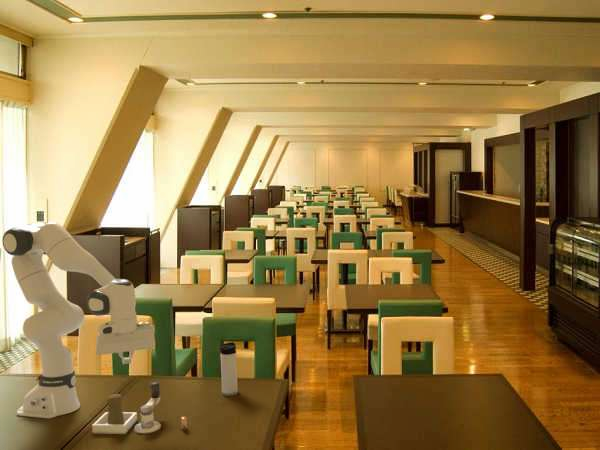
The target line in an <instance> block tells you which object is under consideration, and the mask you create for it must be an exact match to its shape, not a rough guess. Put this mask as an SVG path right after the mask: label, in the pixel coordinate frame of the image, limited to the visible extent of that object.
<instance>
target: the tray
mask: <svg viewBox="0 0 600 450" xmlns="http://www.w3.org/2000/svg"><path fill="white" fill-rule="evenodd" d="M108 412H109V411H106V412H104V413H103V414H102V415H100V417H99V418H98V419H97V420H96V421H95V422H94V423H92V425H91V427H92V428H91V429H92V434H96V435H100V434H102V435H108V434H109V435H126V434H127V433H128V432H129V430H130V429H131V428H133V426H134V425H136V424H135V423H137V421H138V413H137V412H134V411H133V412H132V411H131V412H126V411H123V417H124V422H125V423H124V425H121V424H108Z"/></svg>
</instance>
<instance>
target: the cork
mask: <svg viewBox="0 0 600 450" xmlns="http://www.w3.org/2000/svg"><path fill="white" fill-rule="evenodd" d="M106 403H107V405H108V411H107V412H108V424H121V425H124V423H125V422H124V417H123V412H124V411H123V407H122V403H123V397H122V395H121V394H119V393H115V394H110V395H108V396H107V399H106Z"/></svg>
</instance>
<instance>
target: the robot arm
mask: <svg viewBox="0 0 600 450" xmlns="http://www.w3.org/2000/svg"><path fill="white" fill-rule="evenodd" d="M2 247H3V249H4V250H5V251H6V253H7V254H9V255H10V256H12V258H11V266H12V270H13V273H14V276H15V279H16V281H17V283H18V285H19V287H20V290H21V292H22V294H23V296H24V298H25V301H26V302H28V303H29V304H30V305H34V306H36V307H37V308H39V309H40V310H42V311H39V312H35V313H34V314H33V315H30V316H29V317H27V318H25V320H24V321H23V325H22V333H23V335H24V336H25V339H27V341H28V342H30V343H32V344H34V345H35V347H36V348H37V351H38V353H39V355H40V361H41V362H40V363H41V371H42V373H41V374H39V375H38V377H36V378H35V381H36V382H38V384H37V385H35V386H34V387H33V388H32V389H31V390H30V391H28V392H27V393H26V394H25V395H24V397H23V404H22V405H21V406H20V407H19V408H18V409H17V410H16V416H20V417H21V416H22V417H29V418H30V417H31V418H41V419H53V418H56V417H59V416H62V415H66V414H70V413H73V412H75V411H77V410H79V409H80V408H81V404H80V401H79V398H78V394H77V391H76V390H77V389H76V372H75V369H74V359H73V351H72V350H71V349H70V348H69V347H67V346H65V345H64V343H63V341H62V336H64V335H67V334H70V333H73V332H75V331H76V330H78V329H80V327H81V328H82V326H83V324H84V322H85V313H84V311H83V309H82V308H81V307H80V306H79V305H77V304H75V303H73V302H70V301H69V299H67V298H66V297H64V295H63V294H61V292H60V291H59V290H58V288H57V287H56V285H55V283H54V281H53V279H52V278H51V275H50V274H49V272H48V269H47V268H46V266H45V264H44V262H43V255H45V256H47V258H48V259H49V260H50V261H51V263H52V264H53V265H54V266H55V267H57V268H58V269H59V270H61V271H64V272H75V273H81V274H86V275H89V276H90V277H92V278H93V279H94V280H95V281H96V282H97V283H98V284H99V285H100V286H101V287H100V288H97V289H94V290H91V292H89V294H88V295H87V298H86V306H87V309H88V311H89V312H90V314H92V315H94V316H98V317H100V316H101V317H102V316H106V315H109V316H110V320H109V321H107V322H104V323H101V324H100V325H99V326H98V334H97V335H96V340H95V342H96V343H95V353H96V354H97V355H98V356H100V355H101V356H102V355H110V354H118V356H119V357H120V358H121V361H122V365H125V364H126V365H127V364H132V358H133V356H134V354H135V353H134V352H136V351H141V350H149V349H154V347H155V346H156V341H155V337H154V334H155V331H156V330H155V329H156V328H155V325H154V324H153V323H151V322H140V323H138V317H137V312H136V305H137V301H136V299H137V298H136V291H135V287H134V284H133V283H132V281H131V280H129V279H126V278H125V279H124V278H118V277H117V276H116V275H115V274H114V273H113V272H112V271H111V270H110V269H109V268H108V267H107V266H106V265H105V264H104V263H103V262H102V261H101V260H99V259H98V258H97V257H96V256H95V255H94V254H92V253H90V252H89V251H87V250H86V249H85V248H83V247H82V246H81V245H80V244H79V243H78V242H77V241H76V239H75V238H74V236H72V235H71V234H70V233H69V231H68V230H66V229H65V228H64V227H63V226H62V225H61V224H59V223H58V222H54V221H53V222H52V221H51V222H50V221H49V222H41V223H38V222H37V223H29V224H26V225H21V226H19V227H18V226H14V227H12V228H10V229H7V230H5V232H4V233H3V235H2ZM124 352H125V353H126V352H129V356H128V357H125V356H124Z"/></svg>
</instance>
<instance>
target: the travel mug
mask: <svg viewBox="0 0 600 450" xmlns="http://www.w3.org/2000/svg"><path fill="white" fill-rule="evenodd" d="M219 348H220V355H219V356H220V374H221V376H220V377H221V394H222V395H223V396H225V397H230V396H235V395H238V393H239V389H238V388H239V387H238V386H239V385H238V365H237V363H238V362H237V345H236V343H235V342H234V341H233V342H232V341H229V342H225V343H222V344H221V345H220V346H219Z"/></svg>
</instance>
